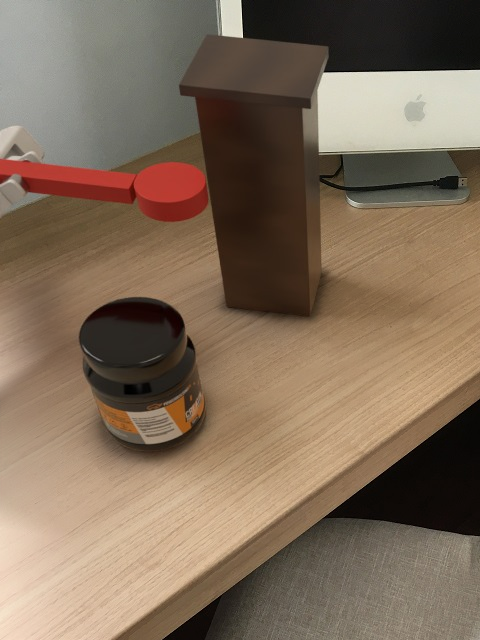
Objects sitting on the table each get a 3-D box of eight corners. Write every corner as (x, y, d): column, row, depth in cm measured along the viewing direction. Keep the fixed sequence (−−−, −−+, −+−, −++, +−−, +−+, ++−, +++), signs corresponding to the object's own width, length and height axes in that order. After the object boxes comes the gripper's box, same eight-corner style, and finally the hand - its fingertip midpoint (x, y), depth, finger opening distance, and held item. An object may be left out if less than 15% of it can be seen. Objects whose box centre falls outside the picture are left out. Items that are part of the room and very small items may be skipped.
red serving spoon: (-41, 198, 71) (-50, 177, 70) (-12, 159, 75) (-19, 139, 74) (198, 225, 71) (195, 206, 69) (216, 185, 74) (213, 166, 73)
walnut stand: (215, 311, 91) (178, 84, 70) (235, 258, 97) (206, 33, 76) (317, 323, 91) (310, 98, 70) (331, 268, 97) (328, 46, 75)
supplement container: (167, 471, 77) (142, 386, 68) (82, 432, 80) (46, 344, 70) (227, 403, 83) (212, 315, 73) (146, 368, 85) (121, 278, 76)
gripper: (-149, 263, 70) (-49, 210, 64) (-47, 142, 82) (45, 87, 76) (-88, 315, 74) (11, 270, 68) (1, 193, 86) (91, 145, 80)
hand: (30, 173), depth 72 cm, fingers closed on red serving spoon, 2 cm apart
